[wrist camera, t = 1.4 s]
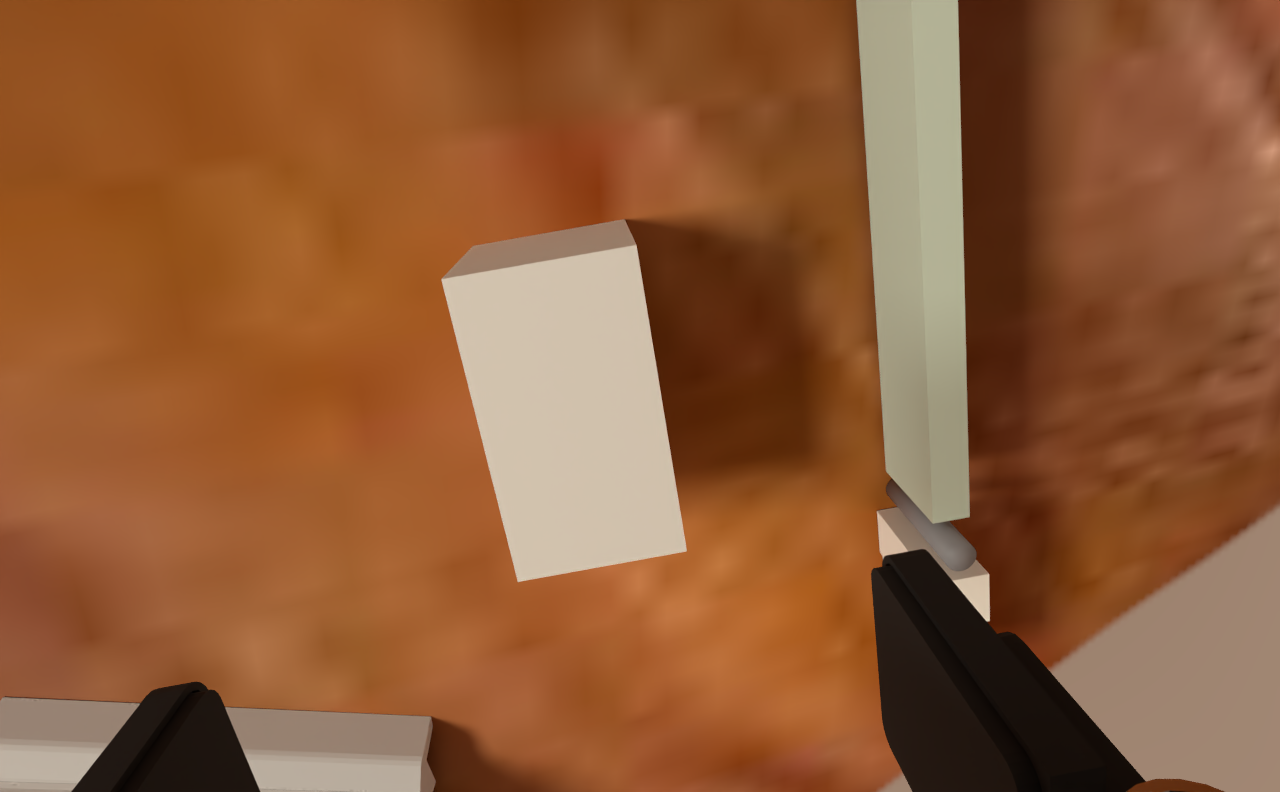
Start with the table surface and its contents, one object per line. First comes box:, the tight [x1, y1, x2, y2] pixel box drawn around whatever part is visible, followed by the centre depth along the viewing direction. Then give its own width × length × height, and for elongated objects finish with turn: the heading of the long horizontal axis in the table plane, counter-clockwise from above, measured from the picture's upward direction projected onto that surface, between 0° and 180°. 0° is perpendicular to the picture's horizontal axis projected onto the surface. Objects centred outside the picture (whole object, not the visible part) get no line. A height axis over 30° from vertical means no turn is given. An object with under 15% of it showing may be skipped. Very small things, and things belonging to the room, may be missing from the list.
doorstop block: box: [441, 219, 687, 582], centre depth 24 cm, size 9×5×6 cm, turn 9°
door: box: [856, 0, 976, 571], centre depth 23 cm, size 20×2×5 cm, turn 9°
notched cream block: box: [877, 507, 990, 621], centre depth 23 cm, size 33×2×5 cm, turn 9°
